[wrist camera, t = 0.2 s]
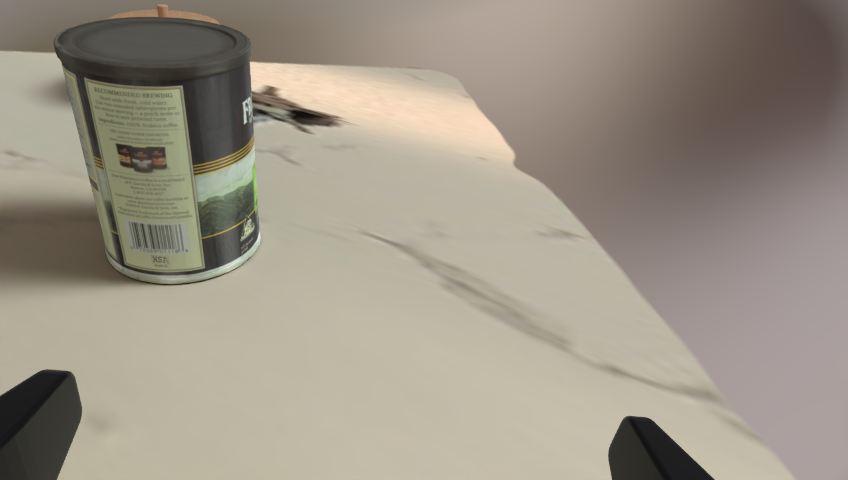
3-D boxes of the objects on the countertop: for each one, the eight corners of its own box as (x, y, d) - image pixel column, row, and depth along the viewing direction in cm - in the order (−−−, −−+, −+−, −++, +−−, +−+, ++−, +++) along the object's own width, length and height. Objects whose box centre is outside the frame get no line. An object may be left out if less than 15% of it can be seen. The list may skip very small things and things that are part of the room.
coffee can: (240, 195, 46) (227, 14, 39) (279, 266, 39) (272, 61, 31) (97, 216, 42) (50, 14, 34) (111, 301, 34) (55, 70, 27)
